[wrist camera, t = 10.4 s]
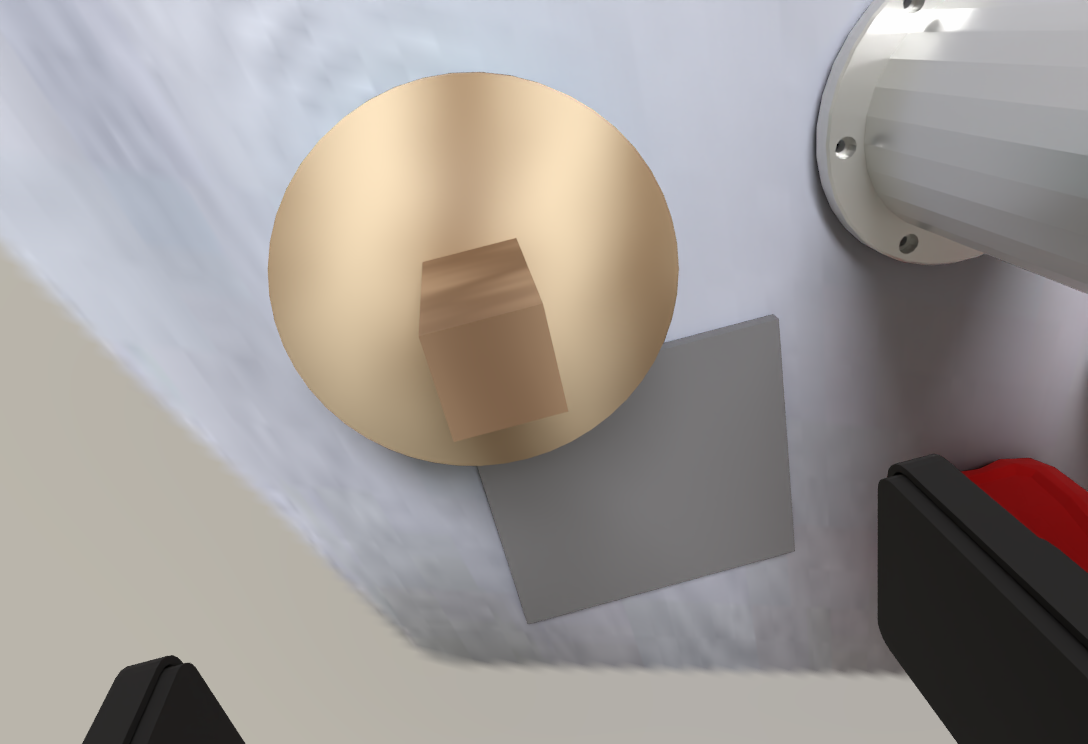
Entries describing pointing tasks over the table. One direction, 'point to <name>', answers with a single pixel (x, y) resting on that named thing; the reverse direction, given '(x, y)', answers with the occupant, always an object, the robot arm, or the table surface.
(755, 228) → the table surface
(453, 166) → the lid
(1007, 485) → the water bottle
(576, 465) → the mat
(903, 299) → the table surface
